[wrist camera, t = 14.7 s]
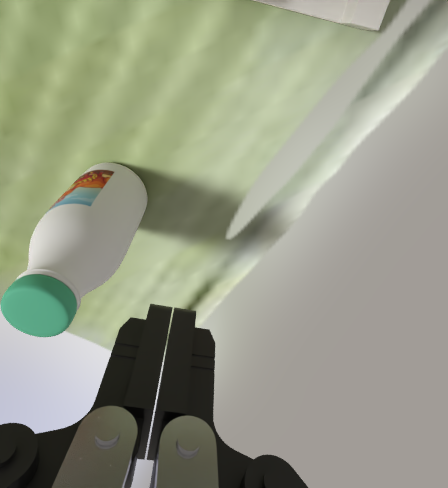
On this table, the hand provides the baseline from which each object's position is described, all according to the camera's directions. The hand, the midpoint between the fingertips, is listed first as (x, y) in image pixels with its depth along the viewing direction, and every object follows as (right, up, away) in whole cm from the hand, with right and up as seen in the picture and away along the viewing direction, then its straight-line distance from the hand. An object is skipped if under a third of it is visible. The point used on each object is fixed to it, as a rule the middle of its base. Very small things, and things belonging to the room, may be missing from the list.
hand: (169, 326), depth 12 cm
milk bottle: (-11, +9, +29) cm, 32 cm away
